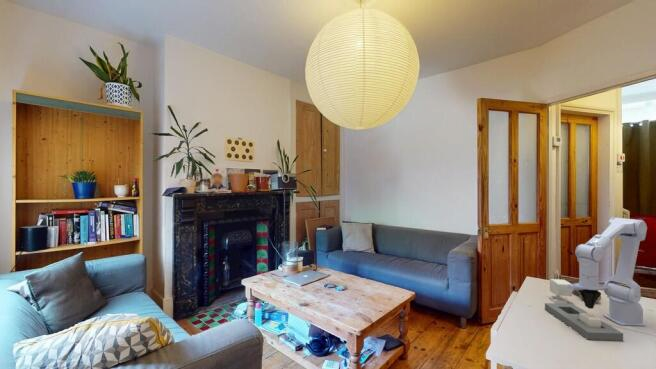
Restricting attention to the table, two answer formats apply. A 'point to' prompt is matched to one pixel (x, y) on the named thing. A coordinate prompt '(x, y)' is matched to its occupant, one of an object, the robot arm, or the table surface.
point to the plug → (590, 320)
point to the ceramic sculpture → (581, 296)
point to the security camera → (559, 290)
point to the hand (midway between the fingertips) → (589, 307)
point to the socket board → (572, 319)
